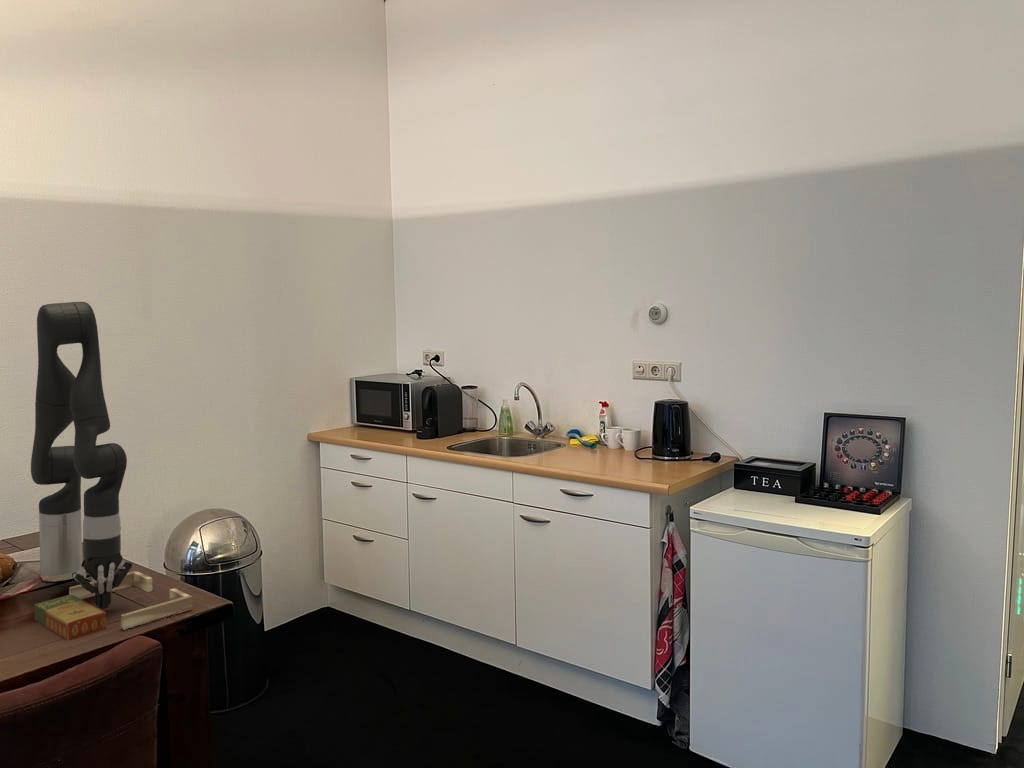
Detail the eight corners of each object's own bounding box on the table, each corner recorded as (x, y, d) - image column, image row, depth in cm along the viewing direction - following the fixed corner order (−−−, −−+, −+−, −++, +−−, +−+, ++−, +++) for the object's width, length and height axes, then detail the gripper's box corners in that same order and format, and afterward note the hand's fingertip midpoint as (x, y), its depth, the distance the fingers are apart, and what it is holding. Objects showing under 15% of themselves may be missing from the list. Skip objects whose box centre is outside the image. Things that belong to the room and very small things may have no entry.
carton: (66, 642, 169) (66, 622, 168) (33, 621, 178) (32, 602, 178) (107, 630, 175) (106, 610, 175) (72, 610, 185) (72, 592, 185)
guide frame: (69, 600, 190) (69, 587, 189) (136, 583, 202) (136, 570, 202) (123, 630, 174) (123, 616, 174) (192, 609, 187) (192, 596, 187)
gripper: (123, 523, 189) (124, 595, 191) (63, 535, 179) (65, 611, 181) (139, 530, 184) (140, 604, 186) (78, 542, 174) (80, 620, 176)
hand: (103, 607), depth 183 cm, fingers closed
